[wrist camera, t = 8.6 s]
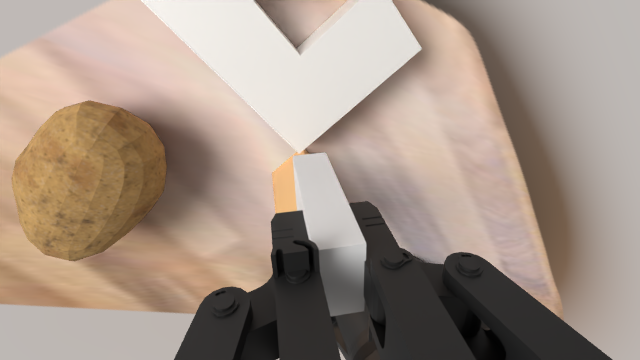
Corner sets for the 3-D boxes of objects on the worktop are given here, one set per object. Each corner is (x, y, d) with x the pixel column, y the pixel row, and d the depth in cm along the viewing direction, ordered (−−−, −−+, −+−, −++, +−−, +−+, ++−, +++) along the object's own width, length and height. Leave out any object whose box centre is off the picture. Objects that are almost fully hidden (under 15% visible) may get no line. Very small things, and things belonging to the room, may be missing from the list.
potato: (27, 196, 32) (-36, 258, 25) (74, 58, 27) (12, 87, 20) (139, 234, 35) (111, 296, 29) (198, 119, 30) (181, 161, 24)
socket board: (407, 42, 30) (422, 48, 27) (295, 140, 33) (298, 153, 30) (256, -192, 21) (256, -214, 19) (122, -32, 24) (106, -33, 22)
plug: (328, 172, 35) (358, 253, 25) (299, 197, 36) (316, 284, 26) (302, 146, 33) (323, 222, 23) (272, 172, 34) (279, 257, 24)
